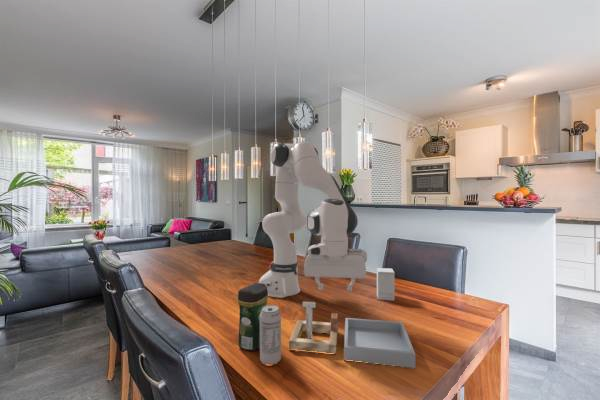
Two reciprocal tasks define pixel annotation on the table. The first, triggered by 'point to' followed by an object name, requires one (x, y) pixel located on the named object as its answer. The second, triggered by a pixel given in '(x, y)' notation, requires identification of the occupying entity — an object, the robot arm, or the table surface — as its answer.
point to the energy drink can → (270, 334)
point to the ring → (317, 327)
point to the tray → (378, 342)
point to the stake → (309, 318)
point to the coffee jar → (251, 314)
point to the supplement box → (385, 284)
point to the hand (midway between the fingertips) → (335, 290)
